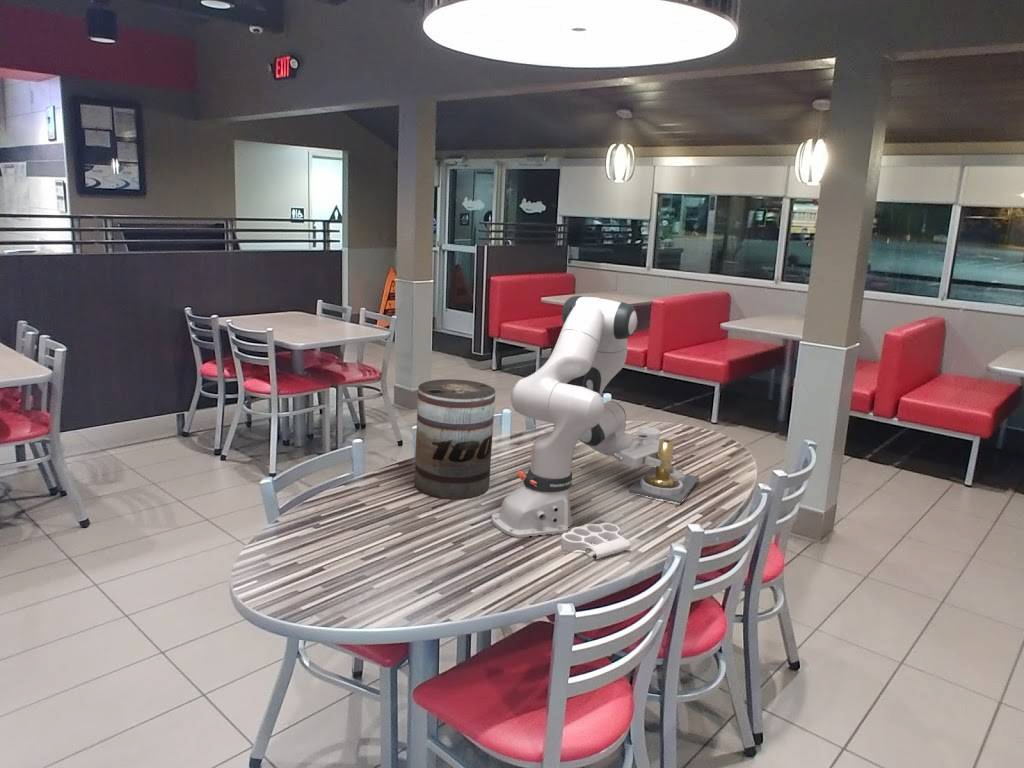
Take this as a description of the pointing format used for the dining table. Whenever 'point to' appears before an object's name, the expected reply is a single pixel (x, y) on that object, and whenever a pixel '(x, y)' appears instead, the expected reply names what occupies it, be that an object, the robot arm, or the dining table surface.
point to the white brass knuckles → (595, 539)
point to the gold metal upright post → (663, 466)
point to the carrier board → (670, 498)
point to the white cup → (649, 432)
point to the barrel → (454, 438)
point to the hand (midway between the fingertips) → (666, 461)
